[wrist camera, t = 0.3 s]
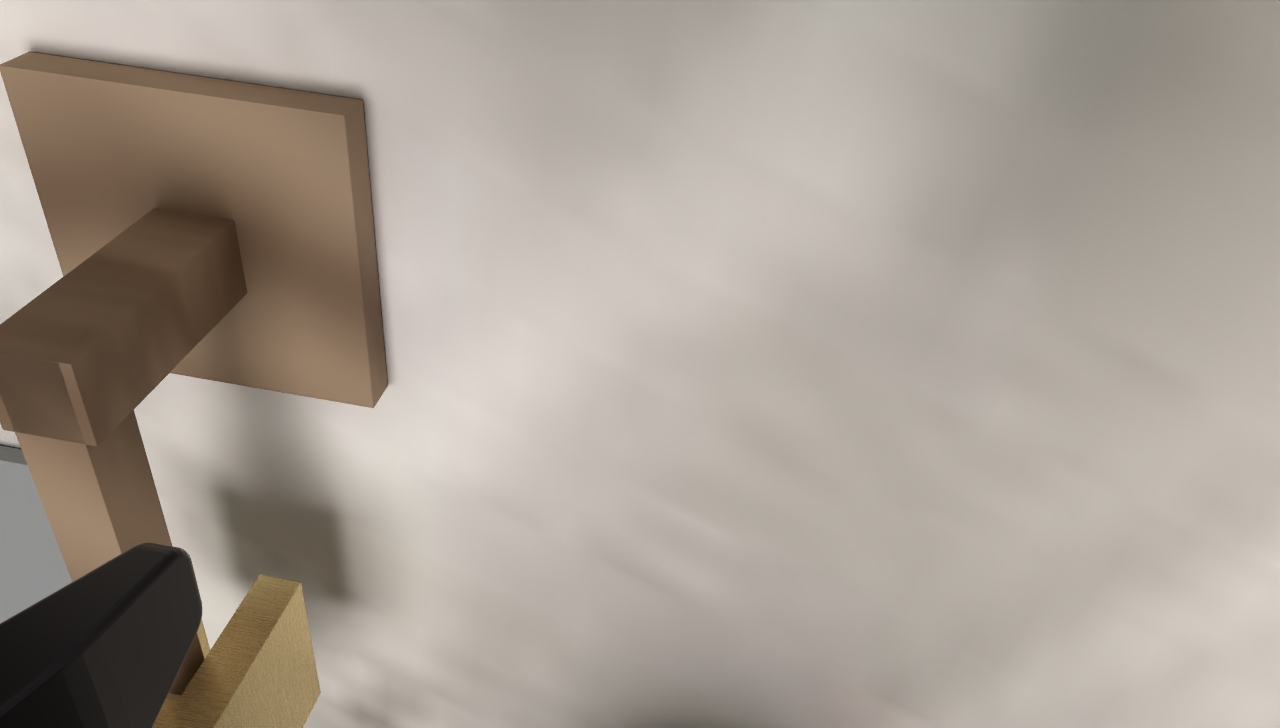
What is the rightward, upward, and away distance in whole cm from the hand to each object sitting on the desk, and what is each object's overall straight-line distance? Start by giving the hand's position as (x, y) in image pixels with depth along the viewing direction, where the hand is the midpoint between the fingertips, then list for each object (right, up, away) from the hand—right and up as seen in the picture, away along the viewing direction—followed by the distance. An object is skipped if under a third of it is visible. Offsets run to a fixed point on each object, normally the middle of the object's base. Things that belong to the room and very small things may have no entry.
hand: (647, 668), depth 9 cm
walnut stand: (-11, +1, +19) cm, 22 cm away
